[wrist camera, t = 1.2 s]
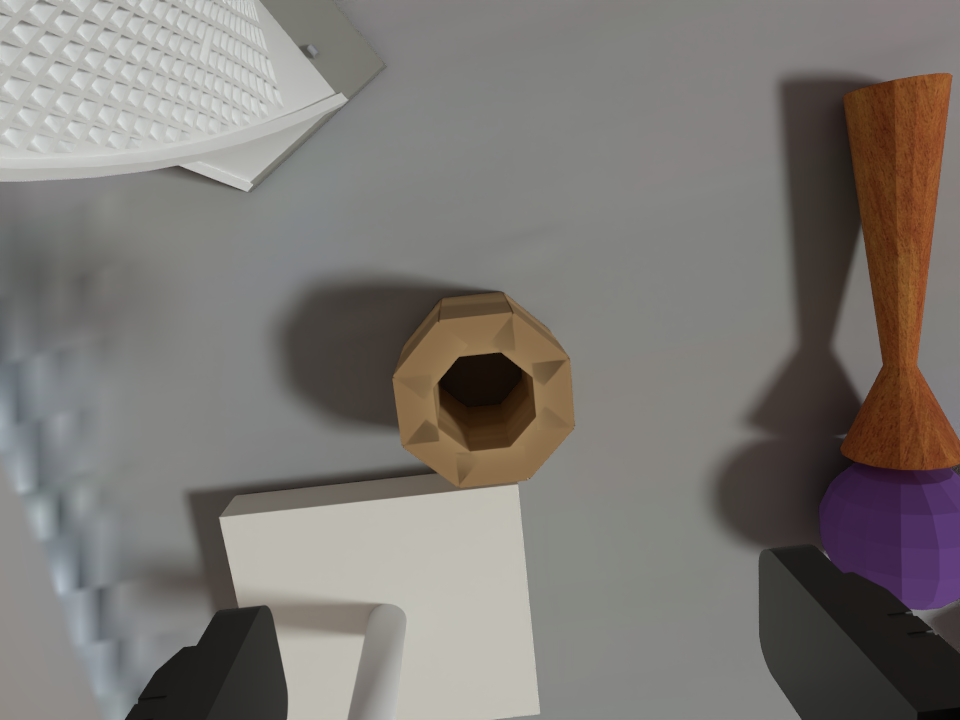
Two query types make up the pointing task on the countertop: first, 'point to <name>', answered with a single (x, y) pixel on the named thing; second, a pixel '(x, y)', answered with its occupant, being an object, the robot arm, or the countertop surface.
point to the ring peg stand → (391, 597)
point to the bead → (491, 428)
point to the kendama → (898, 361)
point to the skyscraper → (171, 85)
